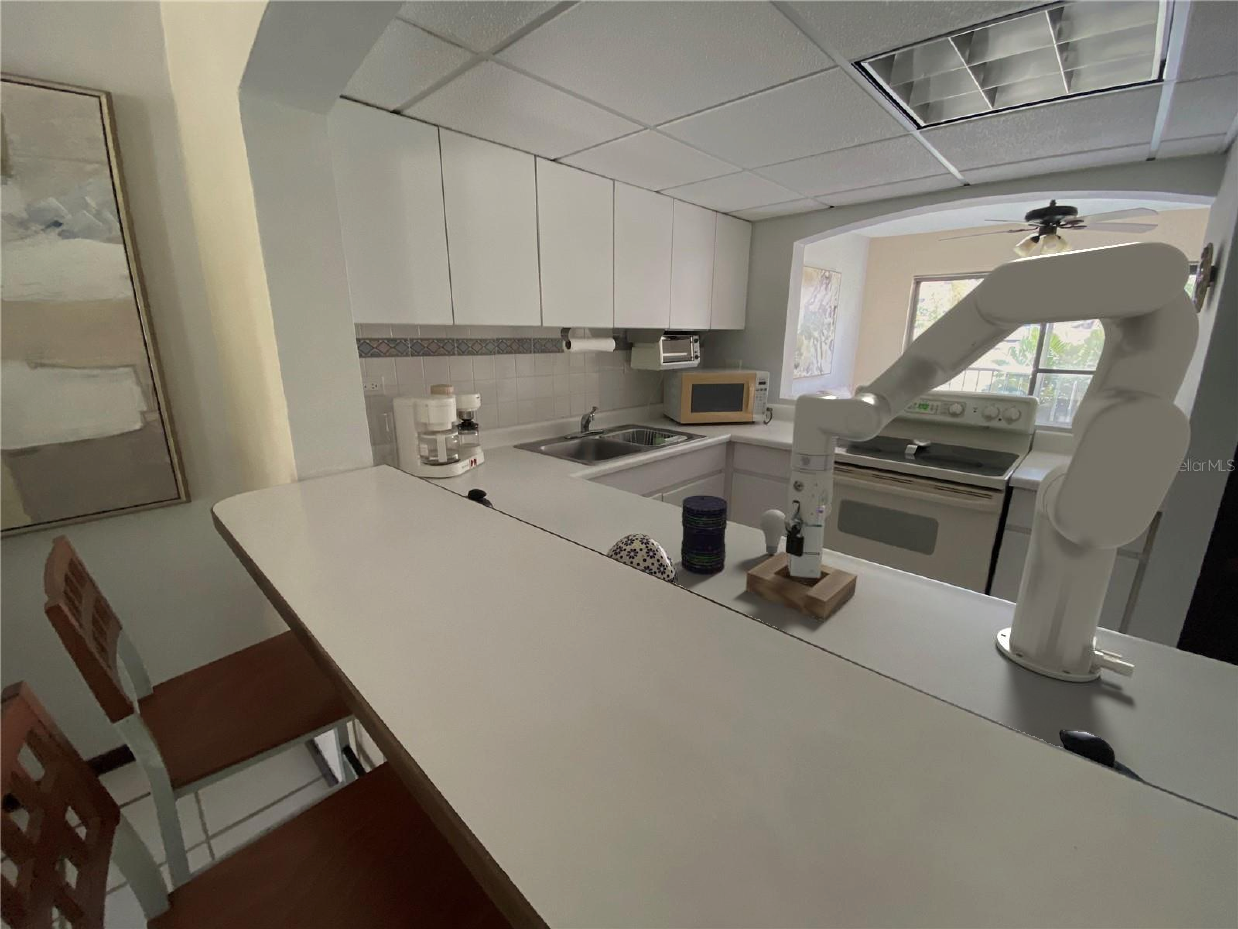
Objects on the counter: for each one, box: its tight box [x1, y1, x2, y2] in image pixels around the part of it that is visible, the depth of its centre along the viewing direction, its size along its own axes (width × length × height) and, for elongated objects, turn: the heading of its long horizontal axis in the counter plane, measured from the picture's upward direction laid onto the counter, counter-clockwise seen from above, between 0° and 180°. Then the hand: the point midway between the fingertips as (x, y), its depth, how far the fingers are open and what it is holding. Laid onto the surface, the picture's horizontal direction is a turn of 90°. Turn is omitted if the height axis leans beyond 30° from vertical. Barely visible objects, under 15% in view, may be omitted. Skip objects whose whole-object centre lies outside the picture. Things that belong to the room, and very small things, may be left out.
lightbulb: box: [759, 509, 786, 556], centre depth 114 cm, size 6×6×11 cm
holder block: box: [745, 551, 858, 621], centre depth 98 cm, size 16×14×4 cm
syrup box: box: [787, 505, 826, 578], centre depth 96 cm, size 6×6×14 cm
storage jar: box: [680, 495, 728, 576], centre depth 109 cm, size 10×10×15 cm
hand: (804, 547), depth 96 cm, fingers closed on syrup box, 7 cm apart
